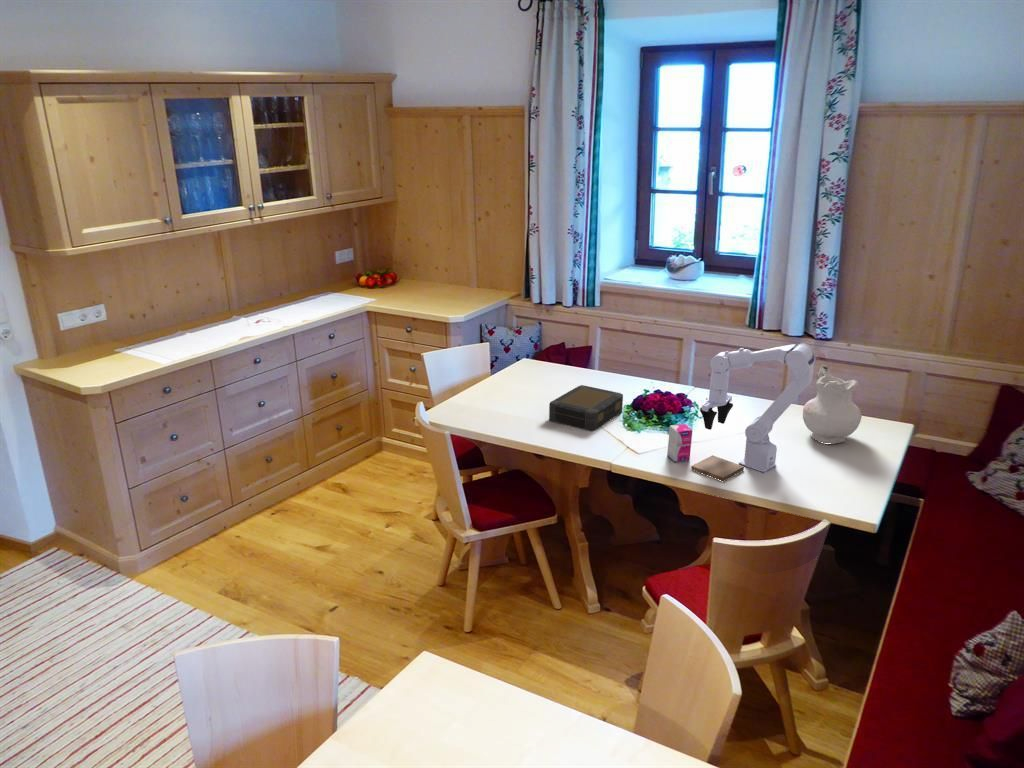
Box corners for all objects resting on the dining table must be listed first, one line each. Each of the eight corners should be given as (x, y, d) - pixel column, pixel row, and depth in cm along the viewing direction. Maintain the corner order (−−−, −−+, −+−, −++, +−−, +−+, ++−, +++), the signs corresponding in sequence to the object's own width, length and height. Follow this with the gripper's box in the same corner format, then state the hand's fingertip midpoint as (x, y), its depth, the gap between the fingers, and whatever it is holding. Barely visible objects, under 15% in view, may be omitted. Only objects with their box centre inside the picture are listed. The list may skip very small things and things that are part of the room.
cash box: (578, 401, 319) (579, 383, 316) (623, 411, 308) (624, 393, 305) (546, 421, 299) (546, 402, 297) (593, 432, 288) (593, 413, 286)
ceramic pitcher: (785, 431, 291) (789, 368, 282) (830, 421, 296) (835, 358, 287) (824, 454, 272) (829, 387, 263) (871, 443, 277) (877, 377, 268)
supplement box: (674, 463, 263) (676, 431, 259) (666, 456, 268) (668, 425, 265) (690, 461, 264) (692, 429, 261) (682, 454, 270) (684, 423, 266)
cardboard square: (743, 472, 258) (744, 466, 257) (722, 483, 250) (723, 477, 249) (712, 460, 266) (712, 455, 265) (691, 471, 258) (691, 465, 258)
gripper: (720, 380, 269) (716, 416, 274) (695, 389, 260) (692, 427, 265) (738, 385, 264) (734, 422, 269) (714, 395, 255) (709, 434, 260)
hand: (714, 425), depth 266 cm, fingers open, 7 cm apart
